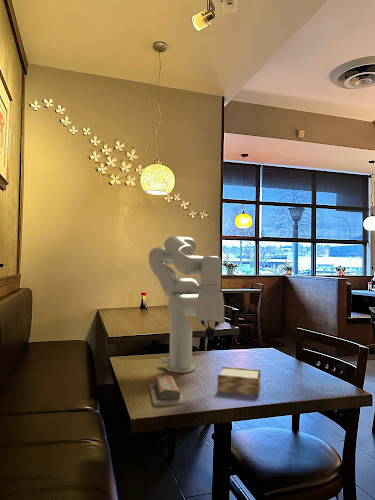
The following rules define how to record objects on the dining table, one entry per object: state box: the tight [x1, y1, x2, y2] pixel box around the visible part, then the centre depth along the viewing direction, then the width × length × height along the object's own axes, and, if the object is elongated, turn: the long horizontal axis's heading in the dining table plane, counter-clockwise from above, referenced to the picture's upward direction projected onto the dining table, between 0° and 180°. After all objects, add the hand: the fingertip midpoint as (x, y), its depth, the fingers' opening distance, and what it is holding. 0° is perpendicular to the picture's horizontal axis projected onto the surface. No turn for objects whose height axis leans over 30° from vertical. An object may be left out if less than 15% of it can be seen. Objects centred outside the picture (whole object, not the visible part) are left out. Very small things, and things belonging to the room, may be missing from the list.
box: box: [217, 366, 261, 397], centre depth 128 cm, size 14×11×6 cm
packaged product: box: [149, 374, 185, 407], centre depth 120 cm, size 18×5×10 cm
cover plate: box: [219, 368, 259, 378], centre depth 128 cm, size 13×8×2 cm, turn 75°
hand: (210, 338), depth 131 cm, fingers closed
